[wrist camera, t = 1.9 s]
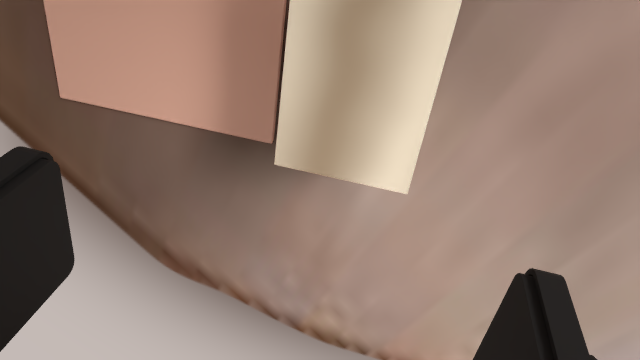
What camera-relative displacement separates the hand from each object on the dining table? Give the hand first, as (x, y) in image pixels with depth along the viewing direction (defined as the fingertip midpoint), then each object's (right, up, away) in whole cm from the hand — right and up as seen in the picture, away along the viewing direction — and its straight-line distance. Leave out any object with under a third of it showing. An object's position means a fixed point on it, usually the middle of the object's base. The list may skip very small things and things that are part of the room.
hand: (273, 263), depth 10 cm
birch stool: (+4, +10, +16) cm, 19 cm away
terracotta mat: (-8, +11, +18) cm, 22 cm away
